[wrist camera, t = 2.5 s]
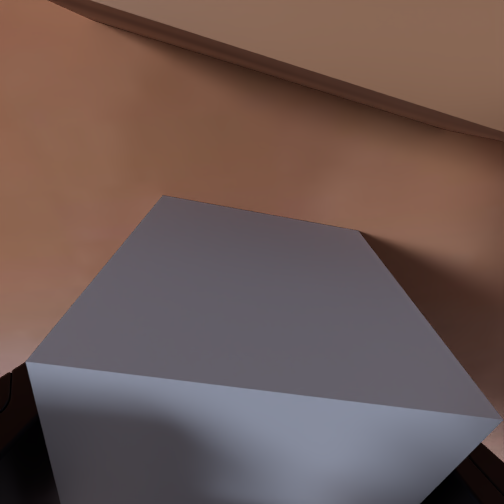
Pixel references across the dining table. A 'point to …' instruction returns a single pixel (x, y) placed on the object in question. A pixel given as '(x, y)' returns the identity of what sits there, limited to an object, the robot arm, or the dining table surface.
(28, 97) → the dining table surface
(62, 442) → the slate cube
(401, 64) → the tan flat square block
